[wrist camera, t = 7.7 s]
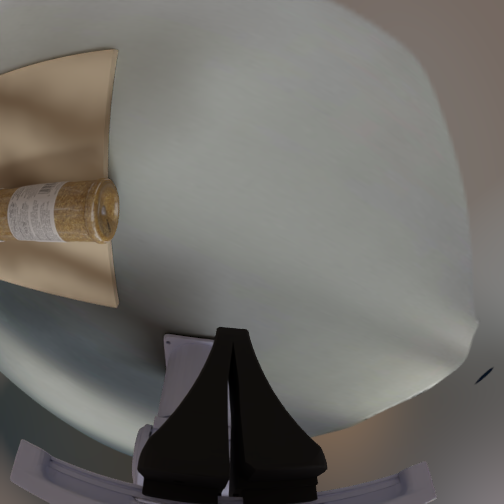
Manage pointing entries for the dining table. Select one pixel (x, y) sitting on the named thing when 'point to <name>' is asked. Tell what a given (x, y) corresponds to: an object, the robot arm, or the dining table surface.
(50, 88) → the birch board
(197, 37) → the dining table surface
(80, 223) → the sprinkles bottle
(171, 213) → the dining table surface
